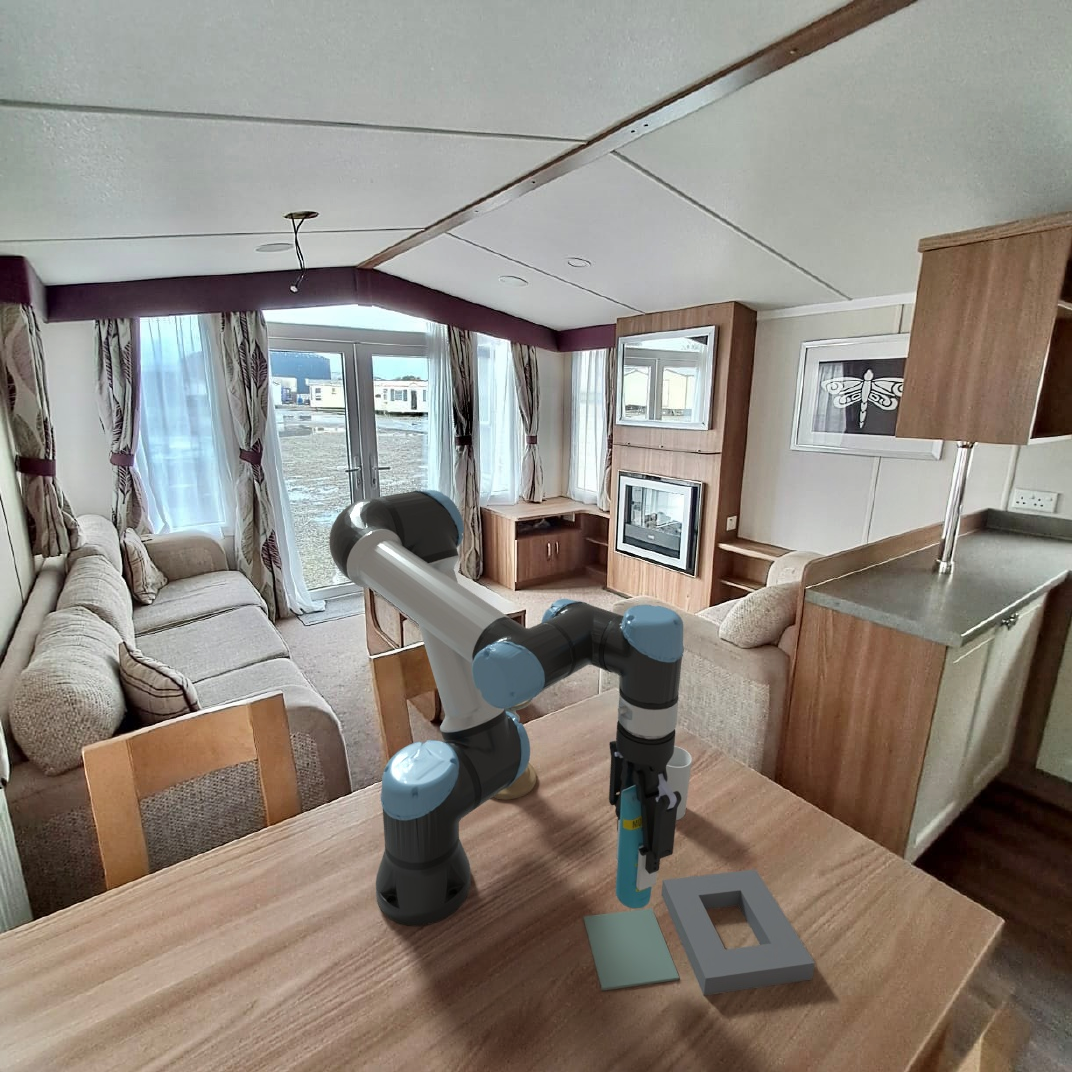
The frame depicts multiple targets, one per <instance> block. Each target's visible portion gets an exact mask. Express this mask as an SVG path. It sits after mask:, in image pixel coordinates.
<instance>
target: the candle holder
mask: <svg viewBox="0 0 1072 1072" xmlns="http://www.w3.org/2000/svg"><path fill="white" fill-rule="evenodd" d="M533 700H534V698H532V699H530V700H527V701H525V702H522V703H520V704H518V705H516V706H513V707H511V708H507V709H505V711H507V712H510V713H512V714H513V715H515V716H516V717H517V718H518V722H519V723H520V721H521V720H520V715H519V714H518V713H517V712H516V711H520V710H523V709H525V708H527V707H528V706H529V705H531V704H532V702H533ZM536 782H537V771H536V770H535V767H534V766H533V765H532V764H531V763H530V762H529V763H528V766H527V768H526V770H525V771H524V773H523V774H522V775H521V776H520V777H518V778H517V779H516V780H515V781H514V782H513V783H512V784H511V785H510V786H509V787H507V788H505V789H503V790H502V791H500V792H499V793H497V794H496V795H494V796H493V797H492V798H494V799H498V800H504V801H505V800H515V799H518V798H522V797H524V796H526V795H528V793H530V792H531V791H532V790H533V788H534V787H535V785H536Z"/></svg>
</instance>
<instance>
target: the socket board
mask: <svg viewBox="0 0 1072 1072" xmlns="http://www.w3.org/2000/svg"><path fill="white" fill-rule="evenodd" d="M661 896H662V899H663V902H664V904H665V908H666V909H667V912H668V913H669V916H670V919H671V921H672V924H673V925H674V928H675V931H676V933H677V935H678V937H679V940H680V942H681V945H682V947H683V950H684V952H685V954H686V957H687V959H688V961H689V963H690V966H691V969H692V972H693V974H694V976H695V979H696V981H697V984H698V986H699V987H700V991H701V992H702V995H703V996H708V995H709V996H710V995H716V994H722V993H729V992H735V991H736V992H737V991H743V990H751V989H756V988H757V989H758V988H764V987H771V986H776V985H784V984H791V983H798V982H805V981H810V980H811V981H812V980H813V976H814V971H815V966H816V962H815V961H814V959H813V957H812V956H811V954H810V952H809V951H808V949H807V948H806V947H805V944H804V943H803V942H802V940H801V938H800V937H799V935H798V934H797V932H796V930H795V928H794V927H793V926H792V924H791V923H790V921H789V919H788V918H787V916H786V915H785V913H784V911H783V910H782V908H781V907H780V905H779V903H778V902H777V901H776V898H775V897H774V896H773V894H772V893H771V891H770V889H769V888H768V886H767V884H766V883H765V881H764V880H763V879H762V877H761V875H760V874H759V872H758V870H757V869H747V870H739V871H737V870H736V871H729V872H722V873H720V872H719V873H711V874H704V875H703V874H702V875H694V876H685V877H678V878H677V877H675V878H668V879H662V885H661ZM736 906H737V907H738V908H739V909H740V911H741V913H742V914H743V916H744V918H745V920H746V922H747V923H748V926H749V927H750V929H751V930H752V932H753V934H754V936H755V938H756V939H757V942H758V944H757V945H749V946H742V947H735V948H727V949H725V946H724V944H723V942H722V940H721V938H720V936H719V934H718V932H717V930H716V928H715V926H714V924H713V922H712V920H711V918H710V916H709V914H708V912H707V910H712V909H713V910H714V909H720V908H730V907H736Z"/></svg>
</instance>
